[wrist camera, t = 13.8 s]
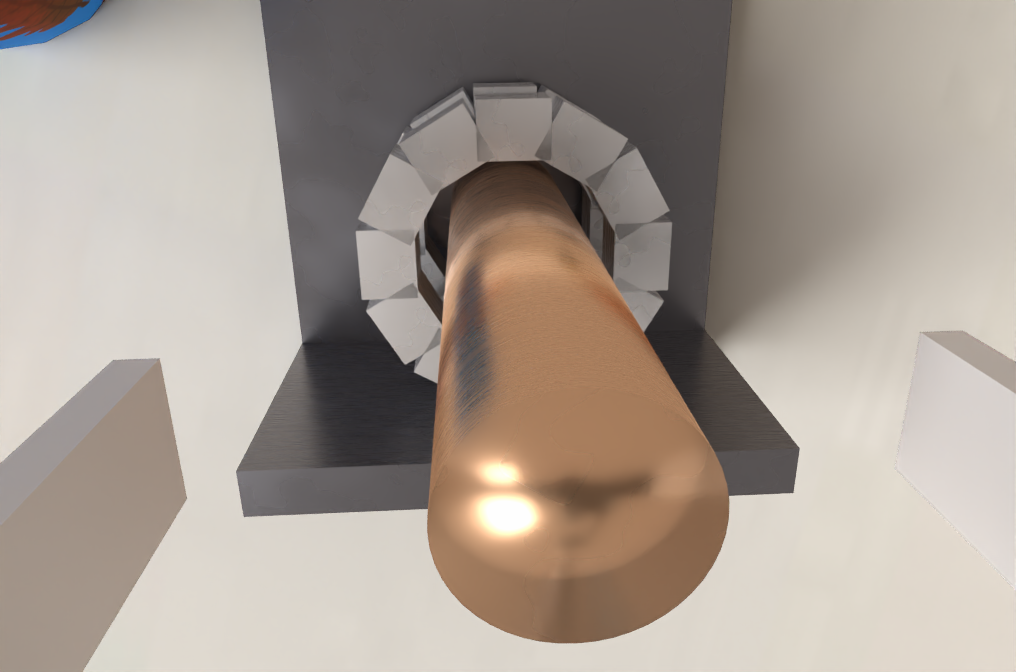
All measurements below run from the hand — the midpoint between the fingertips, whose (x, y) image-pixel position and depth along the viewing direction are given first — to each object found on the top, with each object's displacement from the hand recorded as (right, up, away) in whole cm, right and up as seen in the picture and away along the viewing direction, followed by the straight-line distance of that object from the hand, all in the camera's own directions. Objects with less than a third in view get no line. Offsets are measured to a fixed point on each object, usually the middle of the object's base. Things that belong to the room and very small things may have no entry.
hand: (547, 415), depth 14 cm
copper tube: (-1, +6, +15) cm, 17 cm away
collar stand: (-1, +7, +16) cm, 18 cm away
